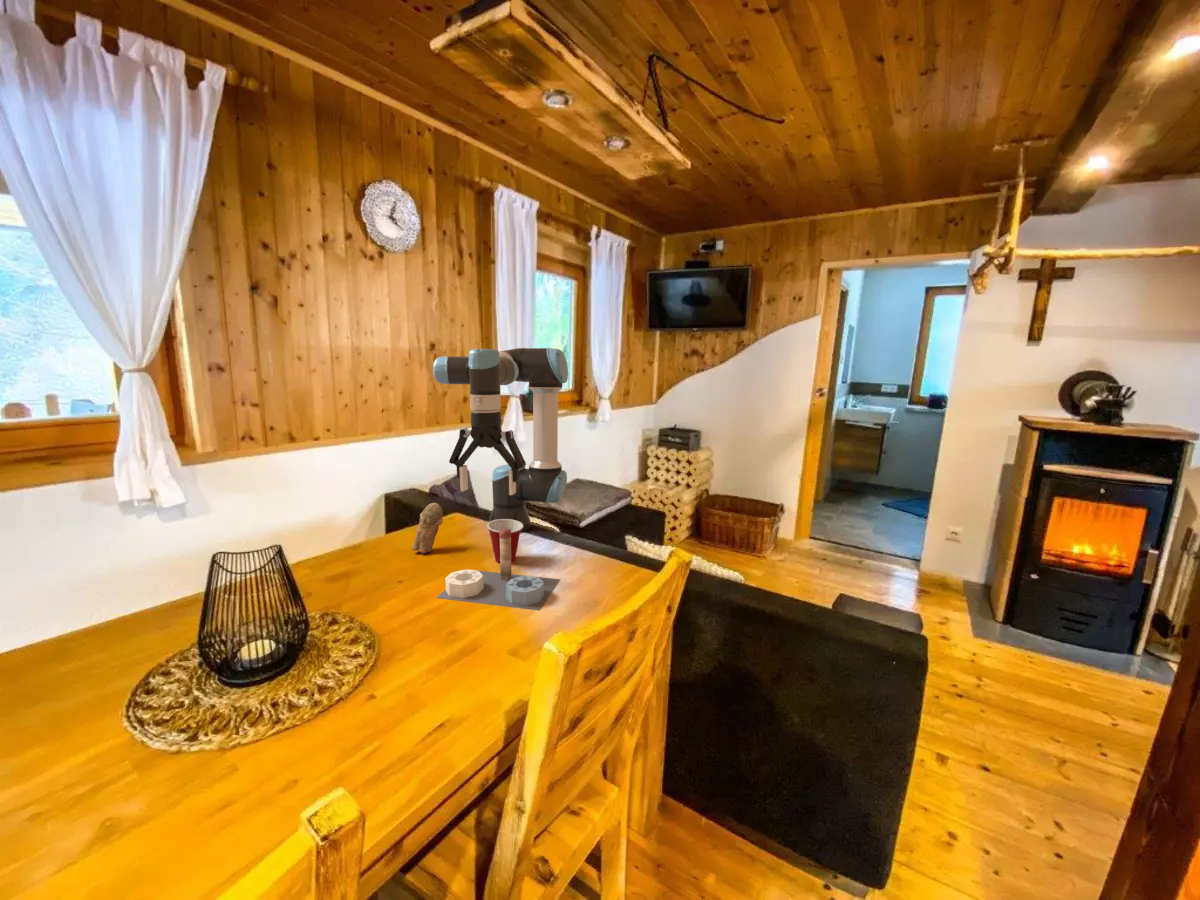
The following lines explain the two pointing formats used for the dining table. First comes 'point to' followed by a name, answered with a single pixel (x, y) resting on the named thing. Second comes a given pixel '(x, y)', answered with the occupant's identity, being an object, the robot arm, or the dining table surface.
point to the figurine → (428, 528)
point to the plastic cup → (495, 537)
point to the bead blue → (525, 590)
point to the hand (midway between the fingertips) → (488, 492)
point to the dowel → (505, 554)
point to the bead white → (464, 583)
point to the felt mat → (502, 592)
